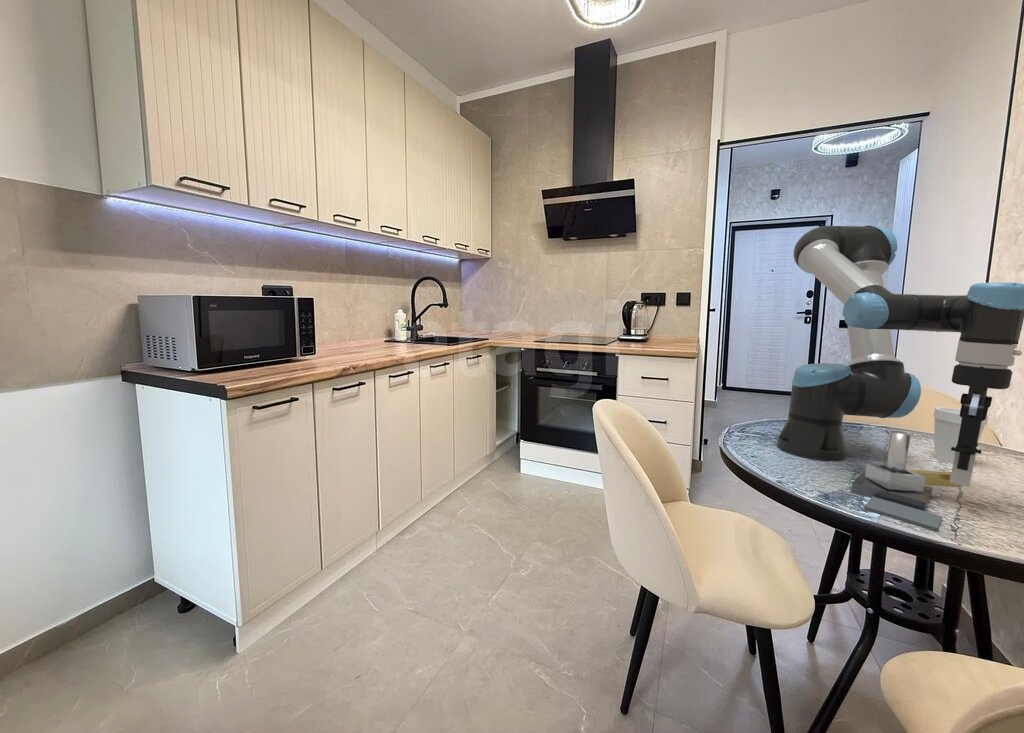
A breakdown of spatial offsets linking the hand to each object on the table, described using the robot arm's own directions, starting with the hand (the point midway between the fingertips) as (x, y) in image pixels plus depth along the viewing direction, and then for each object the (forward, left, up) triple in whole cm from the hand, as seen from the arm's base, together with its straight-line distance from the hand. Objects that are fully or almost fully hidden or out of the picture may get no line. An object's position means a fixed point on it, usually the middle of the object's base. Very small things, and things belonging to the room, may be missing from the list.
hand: (959, 483), depth 84 cm
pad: (-6, -15, -4) cm, 17 cm away
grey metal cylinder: (-9, -5, -2) cm, 11 cm away
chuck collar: (-6, -2, -2) cm, 7 cm away
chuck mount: (-9, -5, -4) cm, 11 cm away
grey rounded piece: (-3, +37, -4) cm, 37 cm away
